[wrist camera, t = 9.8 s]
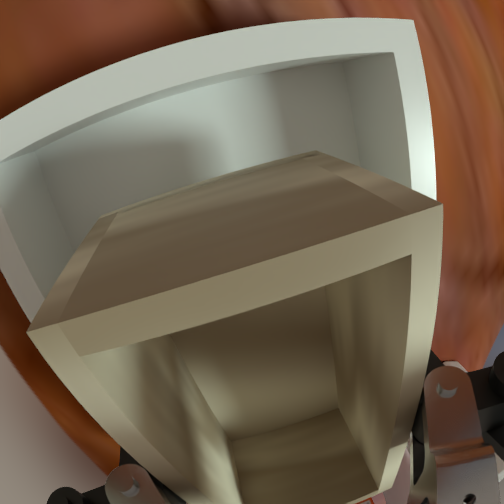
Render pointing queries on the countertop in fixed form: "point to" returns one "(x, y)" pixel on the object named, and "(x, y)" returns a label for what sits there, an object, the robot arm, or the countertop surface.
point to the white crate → (206, 128)
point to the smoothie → (400, 483)
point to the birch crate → (255, 330)
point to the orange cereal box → (366, 501)
